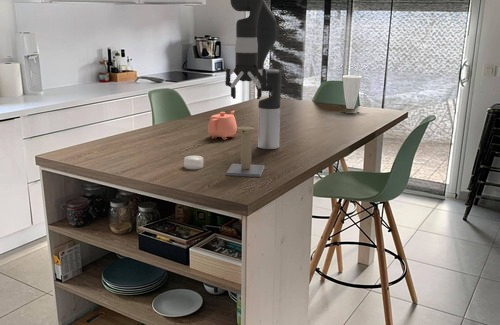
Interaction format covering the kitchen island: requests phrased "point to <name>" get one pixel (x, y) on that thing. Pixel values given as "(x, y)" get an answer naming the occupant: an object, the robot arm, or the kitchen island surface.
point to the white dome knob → (193, 162)
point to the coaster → (238, 171)
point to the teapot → (222, 125)
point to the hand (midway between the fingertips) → (246, 98)
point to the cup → (351, 90)
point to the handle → (245, 146)
